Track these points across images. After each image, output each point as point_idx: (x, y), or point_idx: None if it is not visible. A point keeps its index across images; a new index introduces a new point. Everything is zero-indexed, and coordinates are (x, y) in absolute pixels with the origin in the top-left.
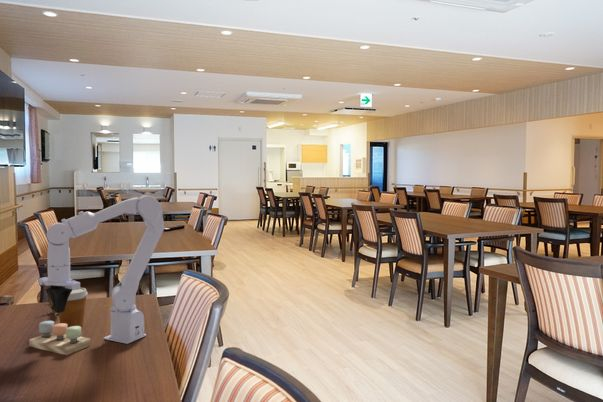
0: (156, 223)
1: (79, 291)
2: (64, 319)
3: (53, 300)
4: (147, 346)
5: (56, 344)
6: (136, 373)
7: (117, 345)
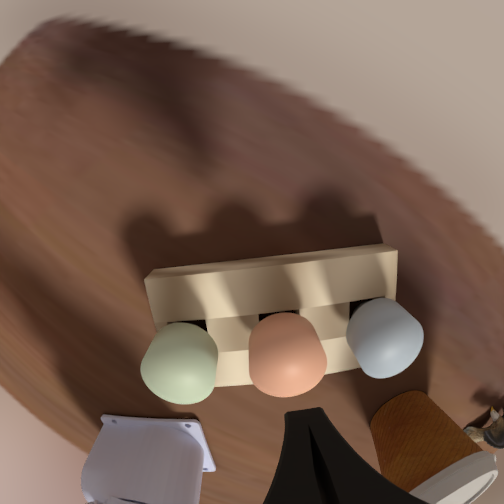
0: None
1: None
2: (413, 417)
3: (335, 479)
4: (59, 415)
5: (224, 282)
6: None
7: (114, 400)
